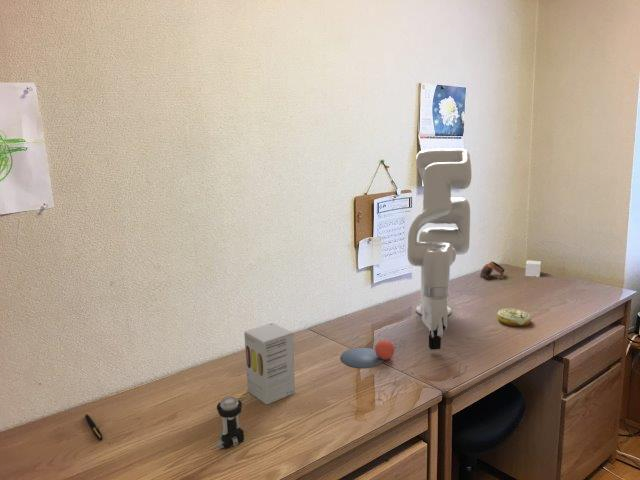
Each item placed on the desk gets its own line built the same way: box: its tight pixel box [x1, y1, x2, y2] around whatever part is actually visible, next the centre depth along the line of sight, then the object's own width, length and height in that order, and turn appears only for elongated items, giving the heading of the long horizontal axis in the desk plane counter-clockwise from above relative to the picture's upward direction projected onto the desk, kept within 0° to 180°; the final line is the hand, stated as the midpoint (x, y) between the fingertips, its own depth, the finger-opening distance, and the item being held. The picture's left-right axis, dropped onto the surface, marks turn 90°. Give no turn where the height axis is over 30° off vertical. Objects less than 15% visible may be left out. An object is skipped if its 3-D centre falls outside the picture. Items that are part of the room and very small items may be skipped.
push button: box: [214, 396, 245, 450], centre depth 104 cm, size 7×5×10 cm
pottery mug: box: [479, 260, 505, 280], centre depth 220 cm, size 12×10×8 cm
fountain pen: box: [84, 413, 104, 441], centre depth 113 cm, size 14×1×2 cm, turn 39°
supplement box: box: [243, 322, 296, 405], centre depth 125 cm, size 10×9×17 cm
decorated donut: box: [497, 308, 532, 327], centre depth 168 cm, size 10×11×4 cm
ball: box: [374, 339, 395, 361], centre depth 143 cm, size 6×6×6 cm
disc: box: [340, 347, 385, 369], centre depth 144 cm, size 13×13×1 cm
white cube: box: [524, 259, 542, 278], centre depth 223 cm, size 6×6×6 cm
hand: (434, 348), depth 146 cm, fingers closed
